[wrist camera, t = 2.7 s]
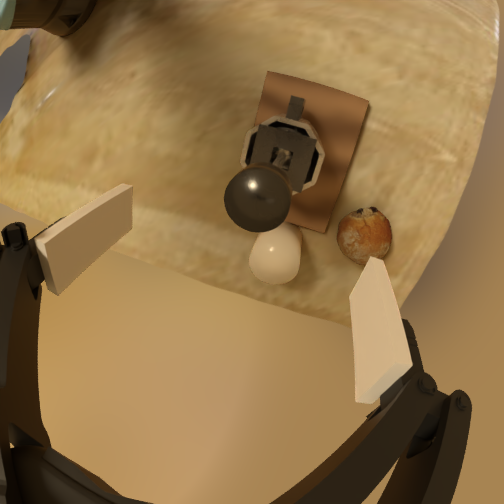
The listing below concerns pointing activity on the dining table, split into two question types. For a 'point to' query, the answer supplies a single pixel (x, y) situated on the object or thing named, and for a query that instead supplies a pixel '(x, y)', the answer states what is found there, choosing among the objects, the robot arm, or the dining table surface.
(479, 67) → the dining table surface
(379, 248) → the bread roll
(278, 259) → the cream egg shape
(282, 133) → the grey faceted handled container
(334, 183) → the board
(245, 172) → the plunger
